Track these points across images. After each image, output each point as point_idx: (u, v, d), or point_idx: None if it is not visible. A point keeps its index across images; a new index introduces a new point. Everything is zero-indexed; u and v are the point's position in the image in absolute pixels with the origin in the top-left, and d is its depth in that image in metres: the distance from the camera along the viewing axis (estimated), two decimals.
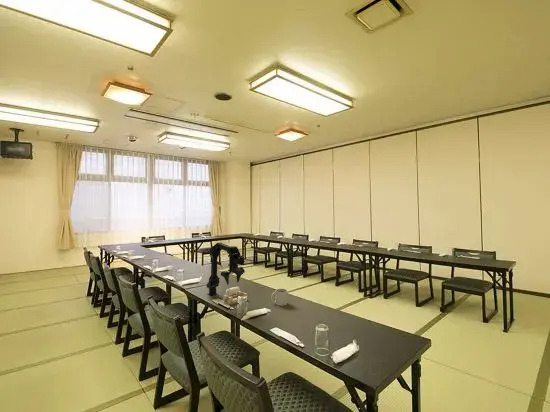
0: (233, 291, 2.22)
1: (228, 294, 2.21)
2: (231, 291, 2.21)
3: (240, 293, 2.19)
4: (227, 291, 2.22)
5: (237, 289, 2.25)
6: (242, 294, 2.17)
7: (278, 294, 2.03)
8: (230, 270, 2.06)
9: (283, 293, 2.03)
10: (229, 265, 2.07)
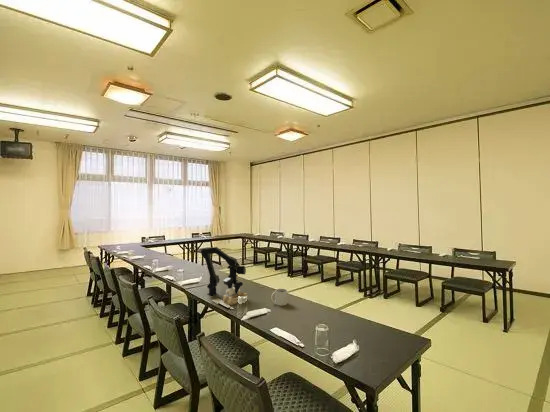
0: (233, 291, 2.22)
1: (228, 294, 2.21)
2: (231, 291, 2.21)
3: (240, 293, 2.19)
4: (227, 291, 2.22)
5: None
6: (242, 294, 2.17)
7: (278, 294, 2.03)
8: None
9: (283, 293, 2.03)
10: None
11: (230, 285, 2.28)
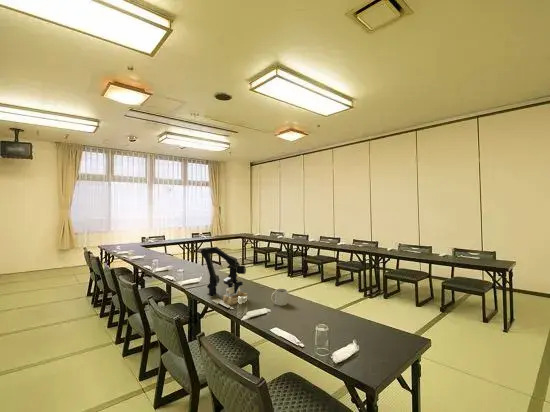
0: (233, 290, 2.22)
1: (228, 293, 2.21)
2: (231, 290, 2.21)
3: (240, 293, 2.19)
4: (227, 290, 2.22)
5: None
6: (242, 294, 2.17)
7: (278, 294, 2.03)
8: None
9: (283, 293, 2.03)
10: None
11: (231, 285, 2.28)
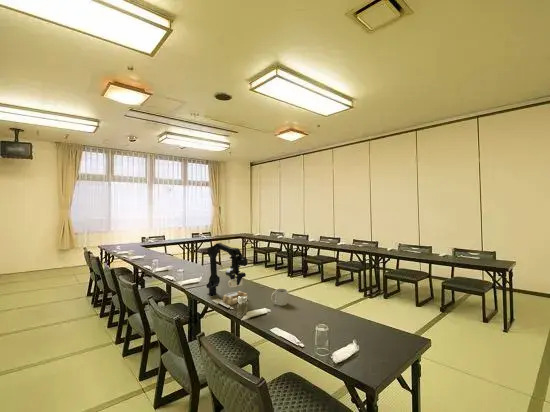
0: (236, 282, 2.11)
1: (230, 285, 2.10)
2: (234, 282, 2.10)
3: (240, 293, 2.19)
4: (229, 282, 2.11)
5: None
6: (242, 294, 2.17)
7: (278, 294, 2.03)
8: None
9: (283, 293, 2.03)
10: None
11: (233, 277, 2.17)
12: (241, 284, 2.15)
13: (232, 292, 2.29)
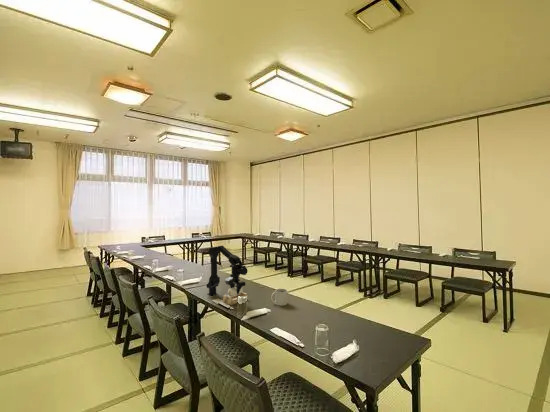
0: (235, 291, 2.10)
1: (230, 294, 2.09)
2: (233, 291, 2.09)
3: None
4: (229, 291, 2.10)
5: None
6: (242, 294, 2.17)
7: (278, 294, 2.03)
8: None
9: (283, 293, 2.03)
10: None
11: (233, 285, 2.16)
12: None
13: None
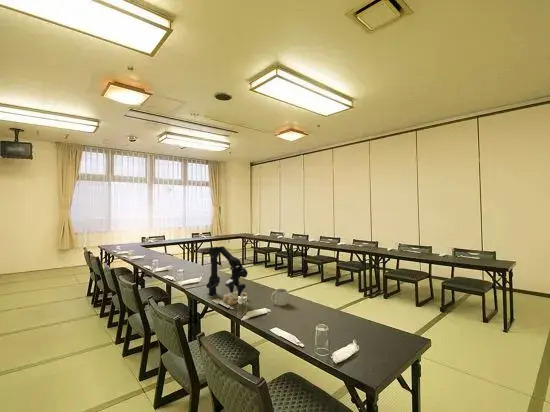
0: (235, 296, 2.10)
1: None
2: (233, 296, 2.09)
3: None
4: (229, 295, 2.10)
5: None
6: None
7: (278, 294, 2.03)
8: None
9: (283, 293, 2.03)
10: None
11: (232, 287, 2.17)
12: None
13: None
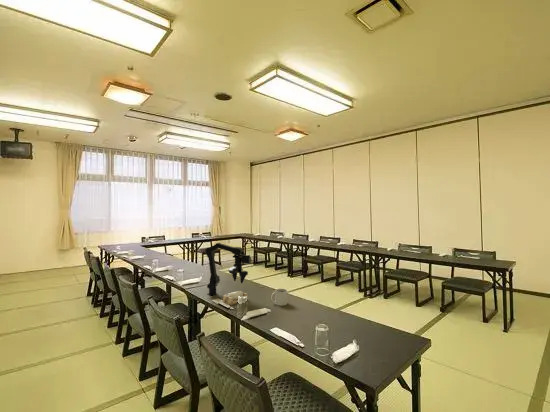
0: (235, 296, 2.10)
1: None
2: (233, 296, 2.09)
3: None
4: (229, 295, 2.10)
5: (240, 293, 2.13)
6: None
7: (278, 294, 2.03)
8: None
9: (283, 293, 2.03)
10: None
11: (235, 274, 2.26)
12: None
13: (232, 292, 2.29)
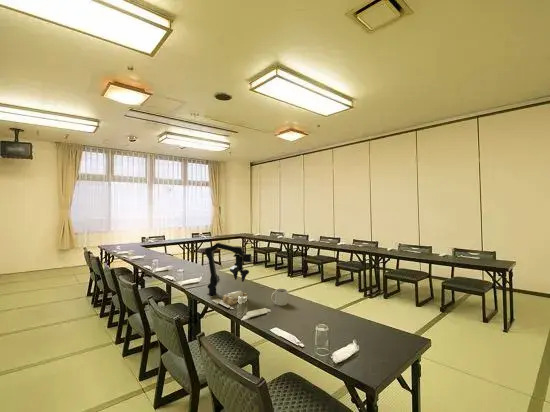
0: (235, 296, 2.10)
1: None
2: (233, 296, 2.09)
3: None
4: (229, 295, 2.10)
5: (240, 293, 2.13)
6: None
7: (278, 294, 2.03)
8: None
9: (283, 293, 2.03)
10: None
11: (236, 273, 2.30)
12: None
13: None
